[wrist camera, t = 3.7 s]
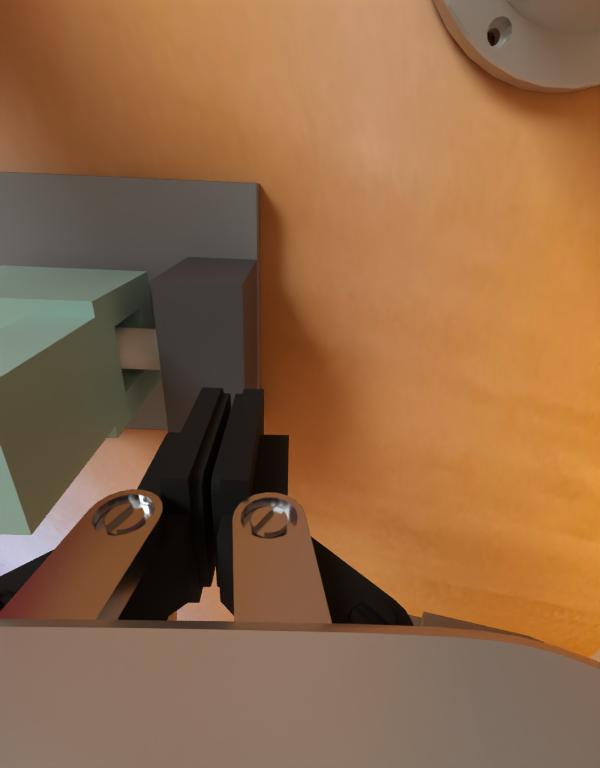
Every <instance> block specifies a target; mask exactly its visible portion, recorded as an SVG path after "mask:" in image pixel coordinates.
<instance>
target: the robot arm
mask: <svg viewBox="0 0 600 768" xmlns="http://www.w3.org/2000/svg"><path fill="white" fill-rule="evenodd" d="M433 1H434V4H435V6H436V8H437V10H438V12H439V14H440V16H441V18H442V20H443V22H444V24H445V26H446V28H447V30H448V32H449V33H450V34H451V35H452V37H453V38H454V39H455V41H456V42H457V43H458V44H459V46H460V47H461V48H462V50H463V51H464V52H465V53H466V55H467V56H468V57H469V58H470V59H471V60H473V61H474V62H475V63H476V64H478V65H479V66H480V67H481V68H483V69H484V70H485V71H486V72H488V73H489V74H490V75H491V76H493V77H495V78H497V79H500V80H502V81H504V82H506V83H508V84H511V85H513V86H515V87H517V88H521V89H526V90H532V91H538V92H544V93H558V92H574V91H581V90H584V89H588V88H591V87H595V86H598V85H600V0H433ZM488 32H490V33H493V35H494V37H495V42H494V45H493V46H491V45H490V44H489V42H488V40H487V33H488ZM288 449H289V435H264V390H263V389H243V393H242V394H235V398H234V401H233V405H232V408H231V394H230V393H224V390H223V388H207V387H202V389H201V391H200V393H199V395H198V397H197V399H196V401H195V403H194V405H193V408H192V410H191V412H190V414H189V416H188V418H187V420H186V422H185V424H184V426H183V428H182V430H181V432H169V433H167V435H166V436H165V438H164V440H163V442H162V444H161V446H160V447H159V449H158V451H157V453H156V455H155V457H154V459H153V461H152V462H151V464H150V466H149V468H148V470H147V472H146V474H145V475H144V477H143V479H142V481H141V483H140V485H139V487H138V489H137V490H134V489H131V490H125V491H120V492H117V493H114V494H111V495H109V496H107V497H105V498H103V499H102V500H100V501H98V502H97V503H96V504H95V505H94V506H93V507H91V508H90V509H89V510H88V512H87V513H86V514H85V515H84V516H83V517H82V519H81V520H80V521H79V522H78V523H77V524H76V525H75V527H74V528H73V529H72V530H71V531H70V532H69V533H68V535H67V536H66V537H65V538H64V539H63V540H62V541H61V543H60V544H59V545H58V546H57V547H56V548H55V549H54V550H52V551H50V552H48V553H46V554H44V555H42V556H40V557H38V558H36V559H34V560H32V561H30V562H28V563H26V564H24V565H22V566H20V567H18V568H16V569H14V570H12V571H10V572H8V573H6V574H4V575H2V576H0V768H600V662H598V661H595V660H593V659H590V658H587V657H585V656H582V655H579V654H576V653H574V652H571V651H568V650H566V649H563V648H560V647H558V646H555V645H551V644H547V643H544V642H542V641H540V640H537V639H535V638H532V637H529V636H526V635H522V634H517V633H513V632H509V631H504V630H500V629H496V628H492V627H487V626H483V625H479V624H474V623H470V622H466V621H461V620H457V619H453V618H448V617H444V616H440V615H436V614H431V613H427V612H423V615H422V618H420V617H416V616H412V615H408V614H407V612H406V610H405V609H404V608H403V607H402V606H401V605H400V604H399V603H397V602H396V601H395V600H394V599H393V598H392V597H390V596H389V595H388V594H386V593H385V592H384V591H382V590H381V589H380V588H378V587H377V586H376V585H374V584H373V583H372V582H370V581H369V580H368V579H366V578H365V577H364V576H363V575H361V574H360V573H359V572H357V571H356V570H355V569H353V568H352V567H351V566H349V565H348V564H347V563H345V562H344V561H343V560H341V559H340V558H339V557H337V556H336V555H335V554H334V553H332V552H331V551H330V550H328V549H327V548H326V547H324V546H323V545H322V544H320V543H319V542H318V541H316V540H315V539H314V538H312V537H311V536H310V531H309V527H308V523H307V519H306V515H305V512H304V510H303V508H302V506H301V505H300V504H299V503H298V502H297V501H296V500H295V499H293V498H291V497H289V496H288ZM215 566H216V576H217V586H218V587H220V600H221V602H222V603H223V604H224V605H225V607H226V608H227V609H228V610H229V611H230V612H231V613H232V614H233V615H234V622H227V621H176V620H177V610H178V609H180V608H181V607H182V606H184V605H185V604H187V603H199V602H200V598H201V594H202V589H203V587H211V585H212V581H213V576H214V571H215Z"/></svg>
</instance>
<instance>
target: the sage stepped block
mask: <svg viewBox="0 0 600 768" xmlns="http://www.w3.org/2000/svg"><path fill="white" fill-rule="evenodd" d="M114 327H122V328H148V329H154V323H153V315H152V306H151V298H150V290H149V282H148V274H147V271H126V270H102V269H78V268H53V267H29V266H5V265H2V266H0V534H11V535H32V534H33V532H34V531H35V530H36V528H37V527H38V526H39V525H40V523H41V522H42V521H43V519H44V518H45V517H46V515H47V514H48V513H49V512H50V510H51V509H52V508H53V506H54V505H55V504H56V503H57V501H58V500H59V499H60V497H61V496H62V495H63V493H64V492H65V491H66V490H67V488H68V487H69V486H70V484H71V483H72V482H73V480H74V479H75V478H76V477H77V475H78V474H79V473H80V471H81V470H82V469H83V468H84V466H85V465H86V464H87V462H88V461H89V460H90V458H91V457H92V456H93V455H94V453H95V452H96V451H97V449H98V448H99V447H100V446H101V444H102V443H103V442H104V440H105V439H106V438H118V437H119V435H120V434H121V433H122V431H123V430H124V429H125V427H126V426H127V424H128V423H129V422H130V420H131V419H132V417H133V416H134V415H135V413H136V412H137V411H138V409H139V408H140V406H141V405H142V404H143V402H144V401H145V400H146V398H147V397H148V395H149V394H150V393H151V391H152V390H153V389H154V387H155V386H156V384H157V383H158V382H159V380H160V371H159V370H147V369H121V363H120V357H119V352H118V346H117V340H116V334H115V328H114Z"/></svg>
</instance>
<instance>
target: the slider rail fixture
mask: <svg viewBox="0 0 600 768" xmlns="http://www.w3.org/2000/svg"><path fill="white" fill-rule="evenodd" d="M2 265H5V266H29V267H53V268H78V269H102V270H126V271H147V274H148V282H149V290H150V298H151V306H152V315H153V323H154V329H148V328H122V327H114V328H115V334H116V340H117V346H118V352H119V357H120V363H121V369H147V370H159V371H160V380H159V382H158V383H157V384H156V386H155V387H154V389H153V390H152V391H151V393H150V394H149V395H148V397H147V398H146V400H145V401H144V402H143V404H142V405H141V406H140V408H139V409H138V411H137V412H136V413H135V415H134V416H133V417H132V419H131V420H130V422H129V423H128V424H127V426H126V427H125V429H152V430H168V433H169V432H181V430H182V428H183V426H184V424H185V422H186V420H187V418H188V416H189V414H190V412H191V410H192V408H193V405H194V403H195V401H196V399H197V397H198V395H199V393H200V391H201V389H202V387H207V388H223V390H224V393H230V394H231V408H232V405H233V401H234V398H235V394H242V393H243V389H260V184H257V183H237V182H215V181H193V180H172V179H150V178H128V177H106V176H84V175H62V174H40V173H18V172H0V266H2Z"/></svg>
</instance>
